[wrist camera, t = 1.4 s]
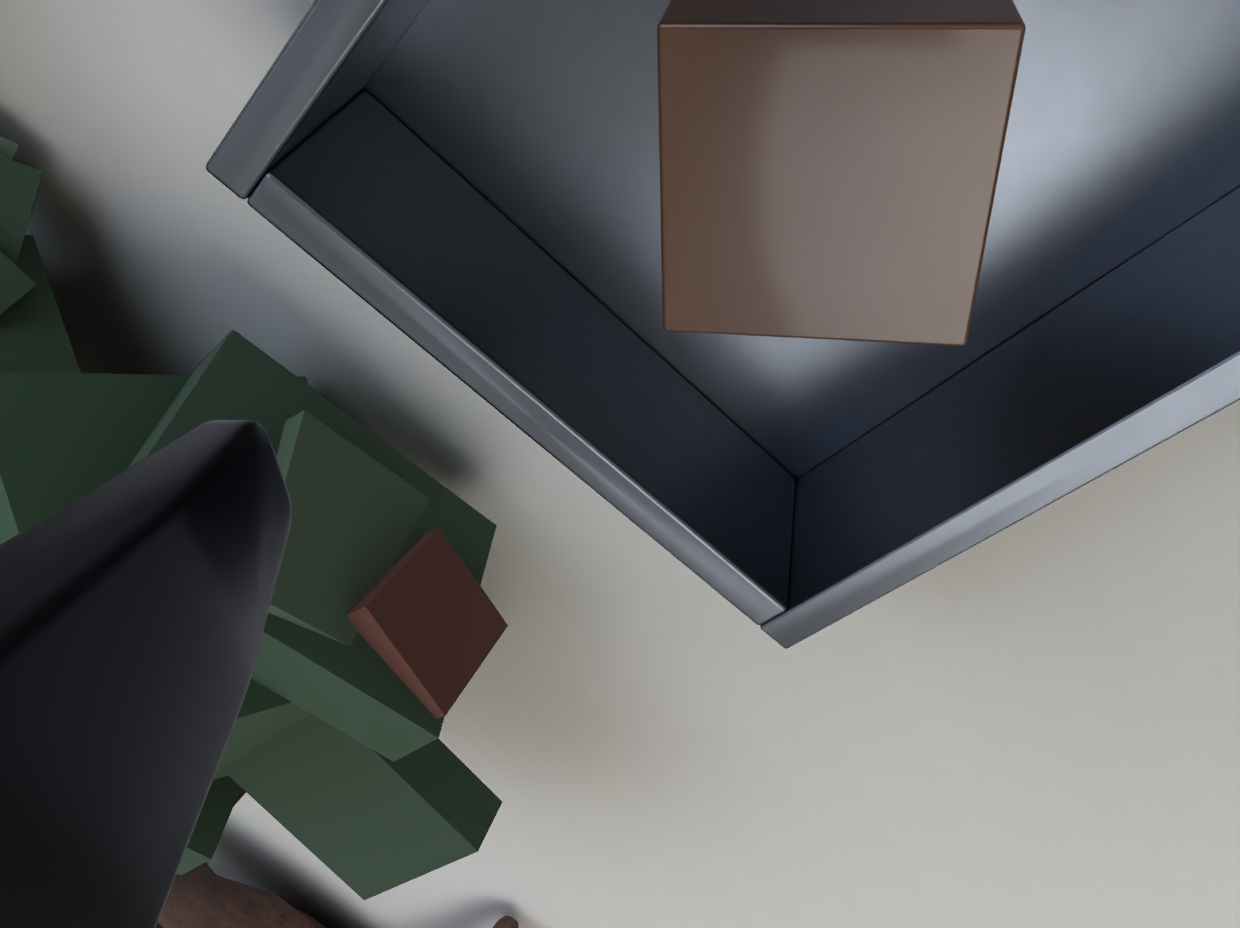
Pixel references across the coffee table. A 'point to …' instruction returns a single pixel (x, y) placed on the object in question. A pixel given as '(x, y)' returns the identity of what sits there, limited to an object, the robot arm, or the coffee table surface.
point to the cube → (831, 164)
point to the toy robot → (283, 581)
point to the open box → (763, 365)
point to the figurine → (235, 905)
